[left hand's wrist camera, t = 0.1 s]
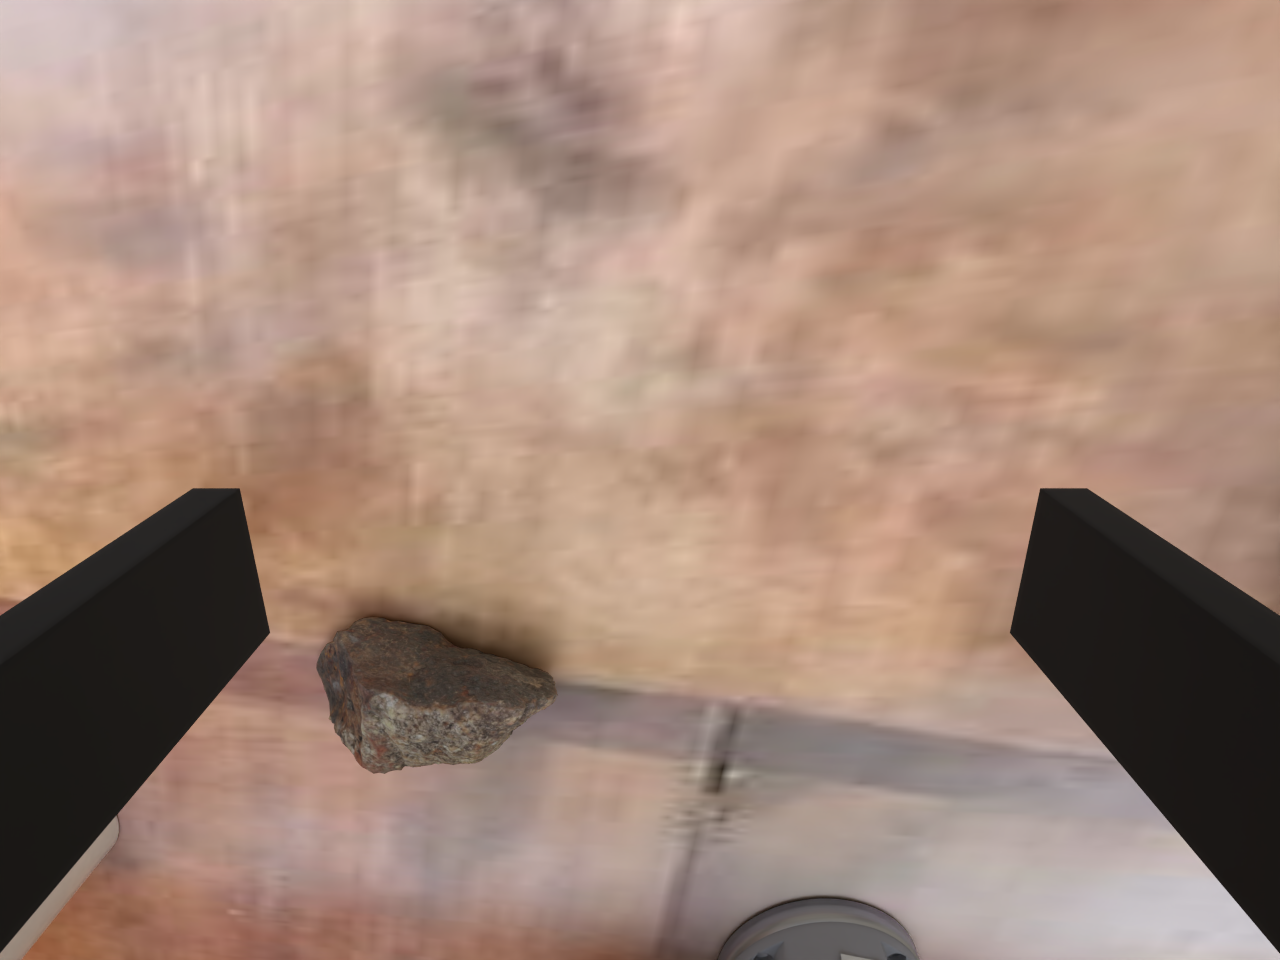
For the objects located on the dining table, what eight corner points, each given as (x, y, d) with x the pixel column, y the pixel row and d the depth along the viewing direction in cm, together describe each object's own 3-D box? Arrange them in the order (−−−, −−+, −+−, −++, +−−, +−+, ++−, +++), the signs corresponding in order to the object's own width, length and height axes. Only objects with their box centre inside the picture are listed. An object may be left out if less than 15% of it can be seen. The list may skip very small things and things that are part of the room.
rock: (347, 565, 45) (317, 694, 48) (269, 641, 37) (240, 790, 40) (574, 643, 45) (529, 765, 49) (547, 735, 37) (495, 874, 41)
